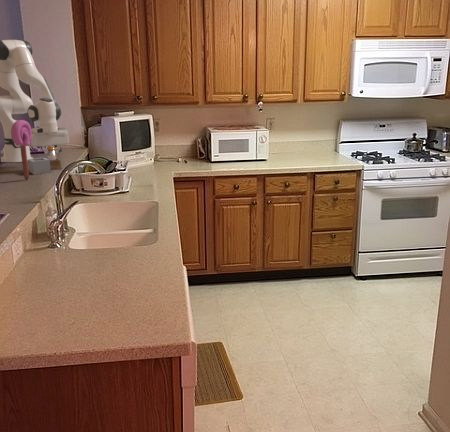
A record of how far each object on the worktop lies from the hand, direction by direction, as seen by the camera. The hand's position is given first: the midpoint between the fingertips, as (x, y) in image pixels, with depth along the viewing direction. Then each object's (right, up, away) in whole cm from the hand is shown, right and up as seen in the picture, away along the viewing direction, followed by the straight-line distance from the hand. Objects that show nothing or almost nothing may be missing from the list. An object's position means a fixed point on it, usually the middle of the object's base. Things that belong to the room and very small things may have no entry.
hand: (51, 153), depth 276 cm
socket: (-4, -11, -7) cm, 14 cm away
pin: (0, -8, +2) cm, 9 cm away
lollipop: (-4, -17, -26) cm, 31 cm away
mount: (0, -8, +2) cm, 9 cm away
